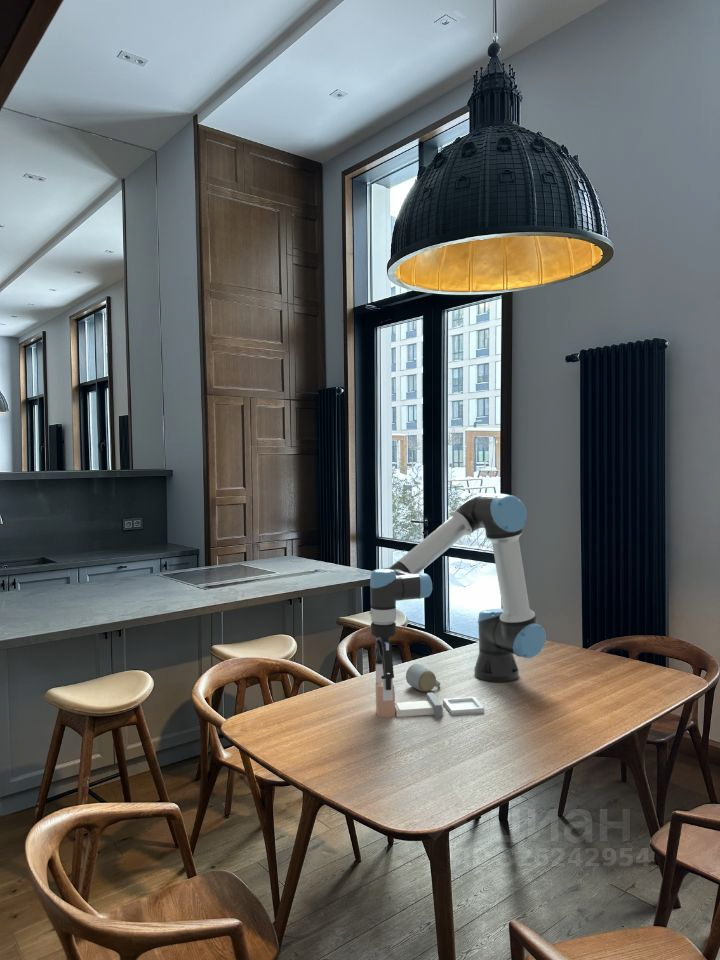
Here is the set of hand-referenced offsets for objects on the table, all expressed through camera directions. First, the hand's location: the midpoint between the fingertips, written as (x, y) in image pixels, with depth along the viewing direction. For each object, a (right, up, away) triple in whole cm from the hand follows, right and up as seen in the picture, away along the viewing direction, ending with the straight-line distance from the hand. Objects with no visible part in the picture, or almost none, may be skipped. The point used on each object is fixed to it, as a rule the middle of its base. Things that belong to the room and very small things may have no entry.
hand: (383, 692), depth 205 cm
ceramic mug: (+14, -6, +23) cm, 27 cm away
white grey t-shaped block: (+10, -6, +2) cm, 12 cm away
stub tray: (+24, -6, +3) cm, 25 cm away
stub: (0, -7, 0) cm, 7 cm away
